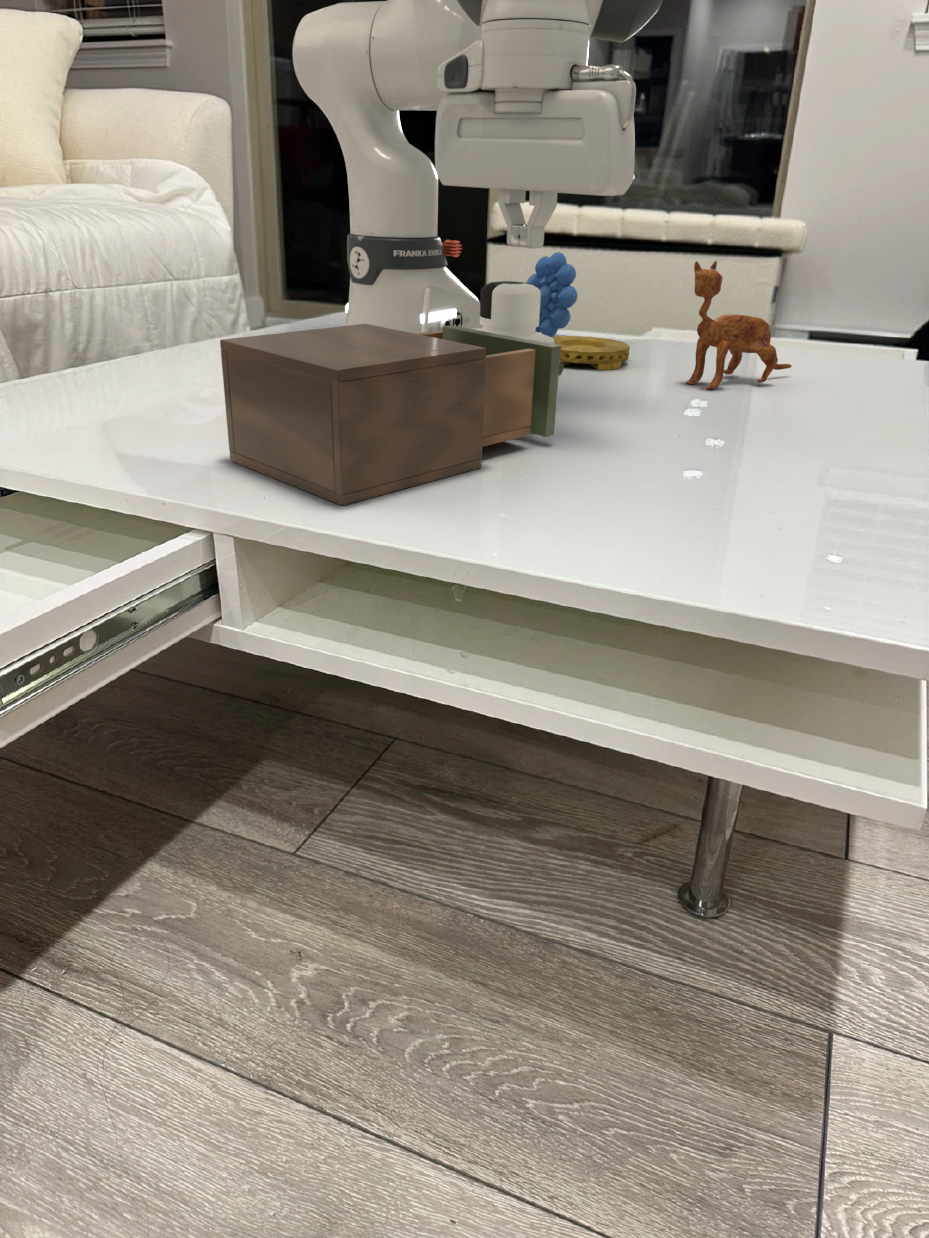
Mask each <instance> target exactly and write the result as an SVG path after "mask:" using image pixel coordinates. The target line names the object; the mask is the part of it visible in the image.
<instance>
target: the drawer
mask: <svg viewBox="0 0 929 1238" xmlns="http://www.w3.org/2000/svg"><path fill="white" fill-rule="evenodd" d="M417 334H419V335H424V336H429V337H434V338H439V339H444V340H449V341H454V342H459V343H464V344H469V345H474V346H479V347H484V348H486V371H485V395H484V420H483V444H482V448H483V447H487V446H491V445H495V444H499V443H503V442H507V441H511V440H515V439H519V438H523V437H527V436H530V435H531V434H532V435H536V436H540V437H544V438H547V437H551V436H554V435H555V427H556V426H555V424H556V415H557V414H556V412H557V402H558V401H557V400H558V389H559V377H560V376H562V373H563V371H564V366H563V363H562V362H561V361H560V350H561V346H559V345H554V344H549V343H543V342H538V341H533V340H527V339H522V338H517V337H511V336H506V335H500V334H495V333H490V332H484V331H479V330H474V329H468V328H463V327H458V326H452V325H450V326H443V328H442V332H440V331H433V332H425V333H417Z"/></svg>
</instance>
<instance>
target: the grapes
mask: <svg viewBox="0 0 929 1238" xmlns="http://www.w3.org/2000/svg"><path fill="white" fill-rule="evenodd" d="M534 270H535V273H533V274H531V275H530V276H529V277H528V279H527V281H526V282H525V283H530V284H533V285H534V286H536V287H538V288H539V289H540V291H541V300H540V316H539V326H538V327H536V330H535V332H538V333H541V334H544V335H546V336H549V337H555V335H556V334H558V331H559V330H560V329H565V328H566V326H568V324H569V323H570V321H571V319H572V318H571V316H572V315H571V313H570V310H569V308H572V307H573V306H574V305H575V304H576V303H577V300H578V298H579V297H578V291H577V289H576V288H575V287H574V286H572V284H573V282H574V281H575V279H576V276H577V272H576V268H575V266H573V265H572V264H570V263H568V262H567V258H566V256H565V255H564V253H563V252H560V251H557V252H553V254H552V255H551V256H547V255H545V256H542V257H540V259H538V260H537V262H536V264H535V266H534Z"/></svg>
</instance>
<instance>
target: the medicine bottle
mask: <svg viewBox="0 0 929 1238" xmlns="http://www.w3.org/2000/svg"><path fill="white" fill-rule="evenodd" d="M479 299H480V300H479V302H480V324H481V325H483V328H473V329H474V330H479V331H484V332H490V333H495V334H500V335H506V336H511V337H517V338H522V339H527V340H533V341H538V342H543V343H549V344H554V339H553V338H552V337H549V336H546V335H544V334H541V332H540V333H538V332H535V330H536V327H538V326H539V316H540V300H541V291H540V289H539V288H538V287H536V286H534V285H533V284H530V283H526V282H523V281H512V280H510V281H509V280H501V281H491V282H488V283H487V284H485V285H483V286H482V287H481V289H480V298H479Z"/></svg>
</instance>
